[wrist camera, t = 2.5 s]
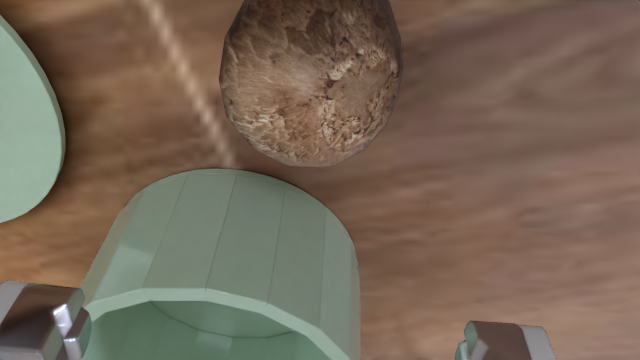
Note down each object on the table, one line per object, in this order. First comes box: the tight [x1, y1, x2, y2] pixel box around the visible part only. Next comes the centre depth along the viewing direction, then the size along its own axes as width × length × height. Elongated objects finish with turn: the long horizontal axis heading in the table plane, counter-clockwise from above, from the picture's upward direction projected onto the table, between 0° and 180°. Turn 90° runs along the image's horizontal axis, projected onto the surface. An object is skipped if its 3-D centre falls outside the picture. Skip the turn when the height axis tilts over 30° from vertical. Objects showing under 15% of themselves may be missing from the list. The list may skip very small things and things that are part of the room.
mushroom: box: [219, 0, 403, 167], centre depth 21 cm, size 8×8×6 cm
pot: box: [79, 168, 361, 360], centre depth 29 cm, size 15×15×8 cm
